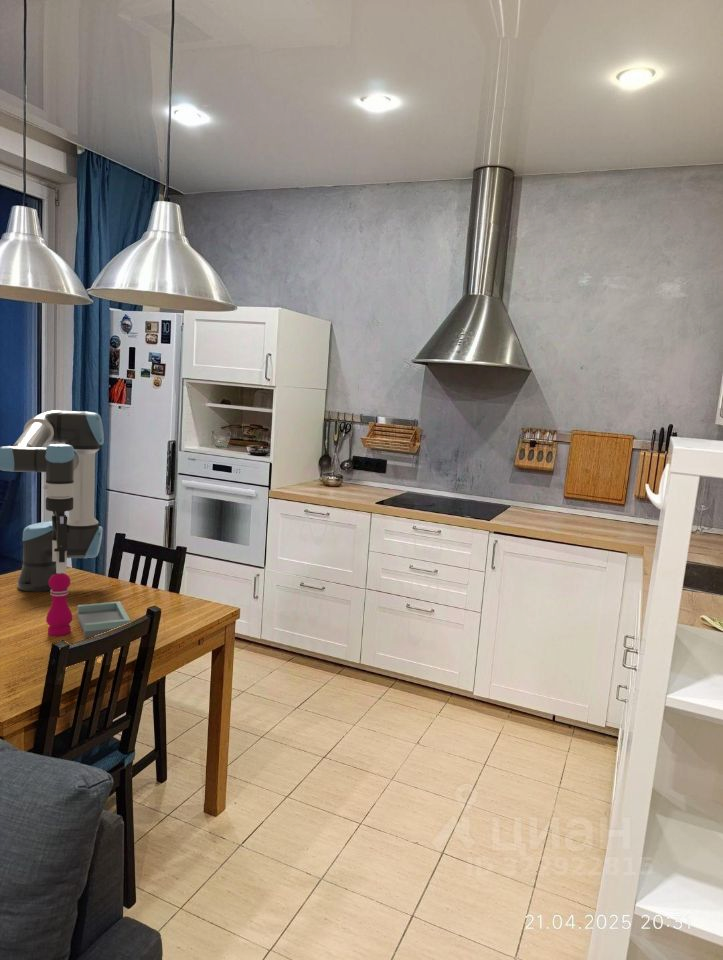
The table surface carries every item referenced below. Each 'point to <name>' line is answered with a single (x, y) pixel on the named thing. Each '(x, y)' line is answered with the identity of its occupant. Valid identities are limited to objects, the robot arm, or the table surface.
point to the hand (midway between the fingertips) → (59, 566)
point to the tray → (101, 617)
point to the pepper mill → (59, 606)
